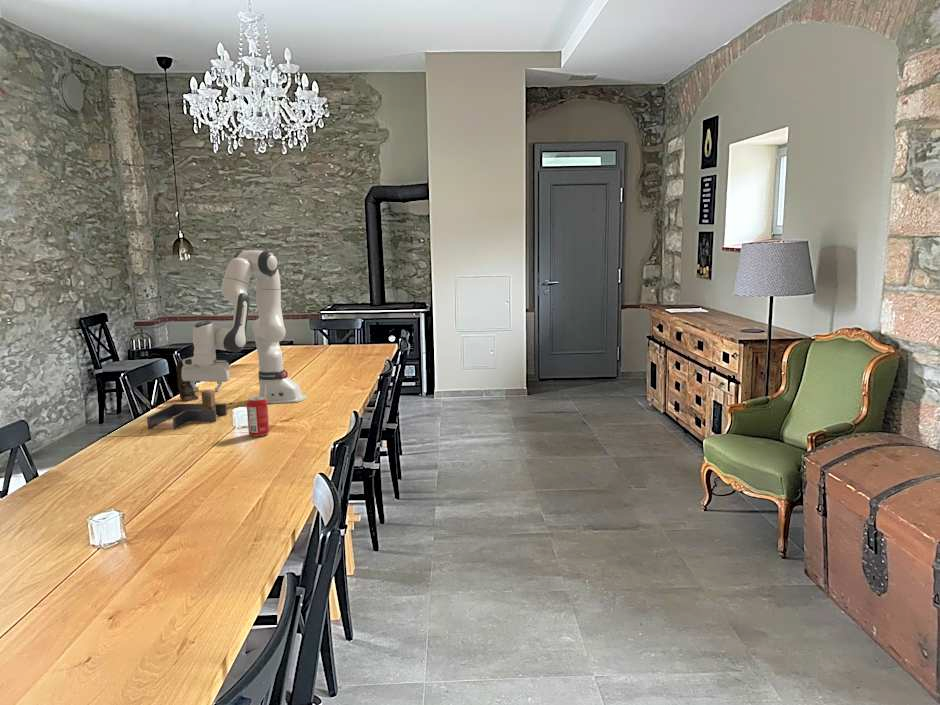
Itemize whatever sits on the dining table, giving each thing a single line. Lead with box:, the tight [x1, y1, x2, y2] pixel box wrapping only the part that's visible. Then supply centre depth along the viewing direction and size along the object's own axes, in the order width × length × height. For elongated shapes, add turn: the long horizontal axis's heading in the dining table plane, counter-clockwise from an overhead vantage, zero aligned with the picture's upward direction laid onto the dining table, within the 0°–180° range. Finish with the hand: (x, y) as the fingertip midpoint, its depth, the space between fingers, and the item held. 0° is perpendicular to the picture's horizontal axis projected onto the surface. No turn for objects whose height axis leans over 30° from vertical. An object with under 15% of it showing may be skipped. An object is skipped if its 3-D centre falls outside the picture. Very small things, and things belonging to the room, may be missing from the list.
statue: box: [175, 358, 199, 402], centre depth 350 cm, size 7×7×20 cm
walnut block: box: [201, 389, 216, 410], centre depth 314 cm, size 4×4×12 cm
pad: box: [153, 422, 174, 429], centre depth 304 cm, size 8×8×1 cm
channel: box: [146, 403, 228, 430], centre depth 310 cm, size 24×23×5 cm
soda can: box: [246, 395, 270, 438], centre depth 287 cm, size 8×8×15 cm
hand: (206, 391), depth 313 cm, fingers open, 8 cm apart
